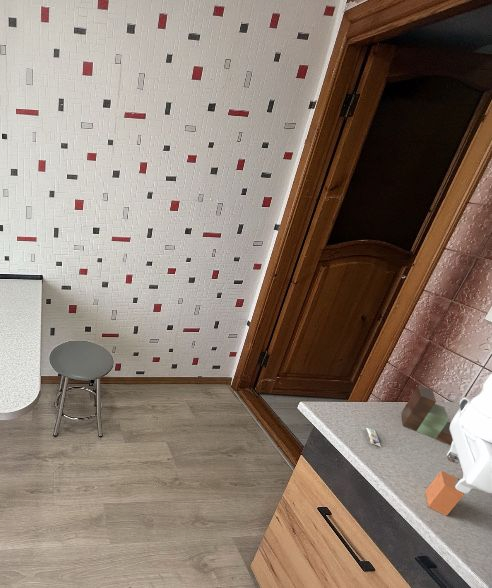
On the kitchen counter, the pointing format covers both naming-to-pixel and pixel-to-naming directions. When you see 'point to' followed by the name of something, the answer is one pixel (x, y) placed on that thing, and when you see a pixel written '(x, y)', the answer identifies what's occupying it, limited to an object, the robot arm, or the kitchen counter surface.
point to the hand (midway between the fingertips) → (455, 473)
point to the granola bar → (373, 437)
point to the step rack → (427, 415)
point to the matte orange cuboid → (443, 493)
